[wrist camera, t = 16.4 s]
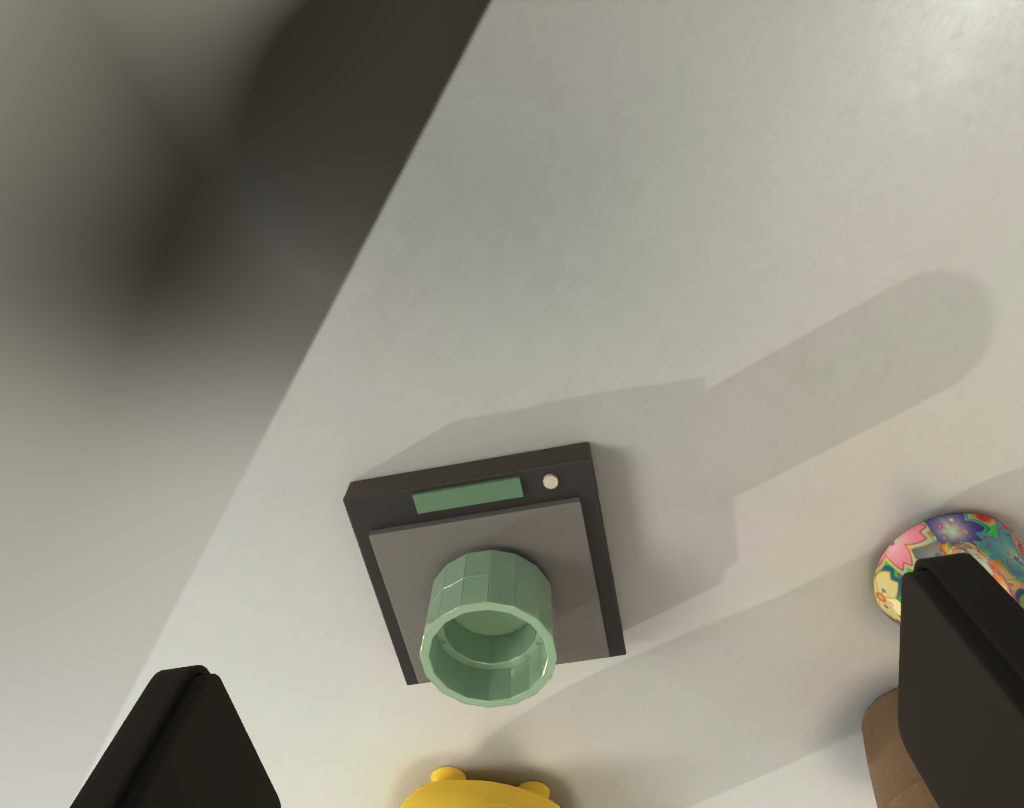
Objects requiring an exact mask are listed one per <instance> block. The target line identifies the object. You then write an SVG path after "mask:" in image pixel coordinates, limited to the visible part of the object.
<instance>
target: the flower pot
mask: <svg viewBox="0 0 1024 808" xmlns="http://www.w3.org/2000/svg"><path fill="white" fill-rule="evenodd" d="M898 695H899V688H897V689H895V690H892V691H890V692H888V693H886V694H884V695H883V696H881V697H880V698H878V699H877V700H876V701H875V702H874V703H873V704H872V705H871V706H870V707H869V709H868V710H867V712H866V714H865V716H864V718H863V723H862V731H863V738H864V745H865V750H866V756H867V762H868V767H869V772H870V777H871V781H872V785H873V790H874V794H875V798H876V803H877V807H878V808H939V807H938V805H937V803H936V801H935V800H934V798H933V796H932V794H931V793H930V791H929V789H928V788H927V786H926V784H925V782H924V781H923V779H922V777H921V775H920V774H919V772H918V770H917V768H916V767H915V765H914V763H913V761H912V760H911V758H910V756H909V754H908V753H907V751H906V749H905V746H904V744H903V741H902V739H901V735H900V732H899V727H898Z"/></svg>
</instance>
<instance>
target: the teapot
mask: <svg viewBox="0 0 1024 808" xmlns="http://www.w3.org/2000/svg"><path fill="white" fill-rule="evenodd" d="M431 781H432V782H430V783H427V784H425V785H422V786H420V787H419V788H417V789H416V790H415V791H414V792H413V793H412V794H411V795H410V796H409V797H408V798H407V799H406V800H405V801H404V802H403V804H402V805H401V806H400V807H399V808H561V807H560V806H559V805H558V804H556V803H555V802H553V801H552V800H550V799H548V798H549V796H550V790H549V788H548V787H547V786H546V785H545V784H543V783H541V782H537V781H528V782H524V783H522V784H520V785H519V786H518V787H515V786H511V785H507V784H502V783H497V782H490V781H480V780H466V776H465V774H464V773H463V772H462V771H461V770H459V769H457V768H454V767H441V768H438V769H437V770H435V771H434V772H433V773H432V776H431Z"/></svg>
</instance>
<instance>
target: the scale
mask: <svg viewBox="0 0 1024 808" xmlns="http://www.w3.org/2000/svg"><path fill="white" fill-rule="evenodd" d="M343 502H344V505H345V508H346V511H347V513H348V516H349V519H350V522H351V525H352V528H353V531H354V534H355V536H356V539H357V542H358V545H359V548H360V551H361V554H362V557H363V559H364V562H365V565H366V568H367V571H368V574H369V577H370V580H371V582H372V585H373V588H374V591H375V594H376V597H377V600H378V603H379V605H380V608H381V611H382V614H383V617H384V620H385V623H386V626H387V629H388V631H389V634H390V637H391V640H392V643H393V646H394V649H395V652H396V654H397V657H398V660H399V663H400V666H401V669H402V672H403V675H404V677H405V680H406V683H407V685H413V684H420V683H427V682H431V681H430V680H429V678H428V677H427V676H426V674H425V671H424V668H423V665H422V662H421V659H420V649H421V644H422V638H423V633H424V628H425V622H426V617H427V612H428V606H429V601H430V596H431V591H432V586H433V582H434V580H435V579H436V577H437V576H438V575H439V573H440V572H441V571H442V570H443V568H444V567H445V566H446V565H447V564H449V563H450V562H452V561H454V560H456V559H458V558H460V557H461V556H463V555H465V554H468V553H472V552H479V551H486V550H497V551H503V552H508V553H514V554H516V555H519V556H520V557H522V558H524V559H526V560H527V561H529V562H531V563H533V564H534V565H536V566H537V567H538V568H539V570H540V571H541V572H542V573H543V575H544V576H545V577H546V579H547V580H548V581H549V582H550V585H551V589H552V594H553V599H554V608H555V626H556V627H555V628H556V643H557V661H556V664H563V663H570V662H577V661H584V660H591V659H598V658H605V657H613V656H620V655H625V654H626V649H625V644H624V638H623V632H622V627H621V621H620V615H619V610H618V604H617V598H616V593H615V587H614V581H613V576H612V570H611V564H610V559H609V553H608V547H607V542H606V536H605V530H604V525H603V519H602V513H601V508H600V502H599V496H598V491H597V485H596V479H595V474H594V468H593V462H592V457H591V451H590V446H589V443H588V442H585V443H579V444H574V445H568V446H562V447H556V448H550V449H544V450H538V451H532V452H527V453H521V454H515V455H509V456H503V457H497V458H491V459H485V460H479V461H474V462H468V463H462V464H456V465H450V466H444V467H438V468H432V469H426V470H421V471H415V472H409V473H403V474H397V475H391V476H385V477H379V478H374V479H368V480H362V481H356V482H351V483H350V485H349V488H348V490H347V492H346V494H345V497H344V499H343Z"/></svg>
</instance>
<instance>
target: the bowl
mask: <svg viewBox="0 0 1024 808" xmlns="http://www.w3.org/2000/svg"><path fill="white" fill-rule="evenodd" d="M555 627H556V626H555V608H554V599H553V594H552V589H551V585H550V582H549V581H548V580H547V579H546V577H545V576H544V575H543V573H542V572H541V571H540V570H539V568H538V567H537V566H536V565H534V564H533V563H531V562H529V561H527V560H526V559H524V558H522V557H520V556H519V555H516V554H514V553H508V552H503V551H497V550H486V551H479V552H472V553H468V554H465V555H463V556H461V557H460V558H458V559H456V560H454V561H452V562H450V563H449V564H447V565H446V566H445V567H444V568H443V570H442V571H441V572H440V573H439V575H438V576H437V577H436V579H435V580H434V582H433V586H432V591H431V596H430V601H429V606H428V612H427V617H426V622H425V628H424V633H423V638H422V644H421V649H420V659H421V662H422V665H423V668H424V671H425V674H426V676H427V677H428V678H429V680H430V681H431V682H432V683H433V684H434V685H435V686H436V687H437V688H438V689H439V690H440V692H442V693H443V694H445V695H447V696H449V697H451V698H453V699H455V700H457V701H459V702H461V703H464V704H469V705H475V706H481V707H487V708H488V707H489V708H491V707H499V706H507V705H513V704H516V703H519V702H521V701H523V700H525V699H527V698H529V697H531V696H533V695H535V694H537V693H538V691H539V690H540V689H541V688H542V687H543V686H544V685H545V684H546V683H547V682H548V681H549V680H550V679H551V677H552V674H553V671H554V668H555V664H556V661H557V643H556V628H555Z"/></svg>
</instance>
